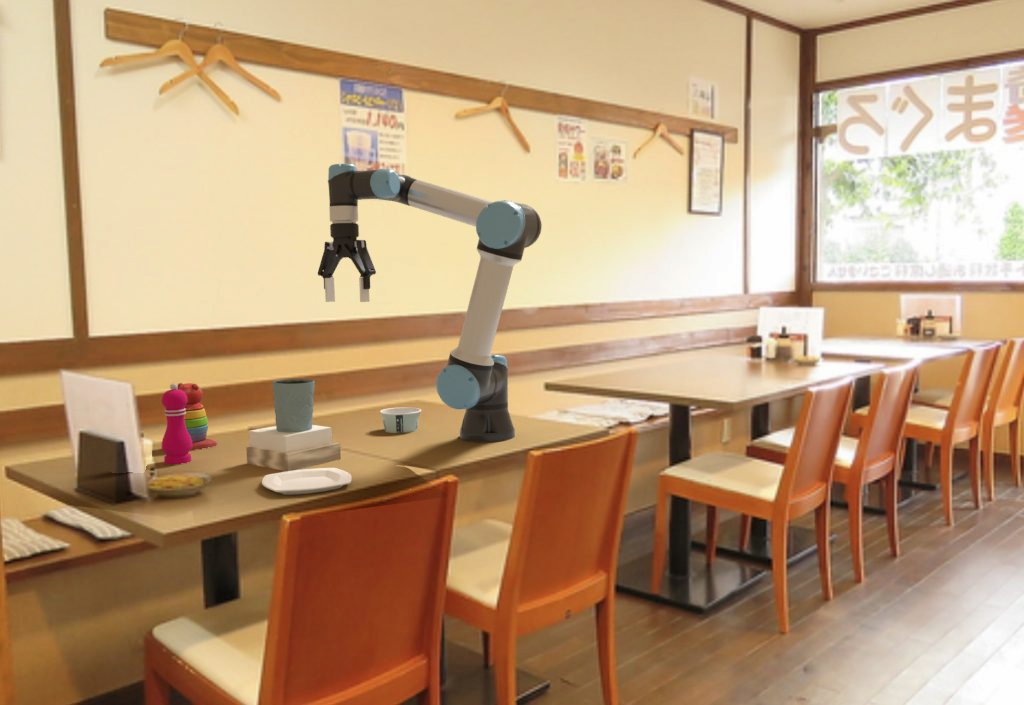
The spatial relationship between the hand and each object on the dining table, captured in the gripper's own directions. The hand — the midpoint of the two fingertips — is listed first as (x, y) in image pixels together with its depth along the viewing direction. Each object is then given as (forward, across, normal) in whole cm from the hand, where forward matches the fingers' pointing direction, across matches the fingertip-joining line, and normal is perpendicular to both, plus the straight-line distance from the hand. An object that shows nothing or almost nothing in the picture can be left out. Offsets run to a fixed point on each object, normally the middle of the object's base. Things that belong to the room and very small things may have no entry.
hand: (347, 301), depth 240 cm
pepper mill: (+39, +18, +42) cm, 60 cm away
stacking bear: (+39, +32, +28) cm, 58 cm away
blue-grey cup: (+30, -8, +26) cm, 41 cm away
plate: (+39, -29, +40) cm, 63 cm away
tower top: (+34, -6, +26) cm, 44 cm away
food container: (+39, -1, -18) cm, 43 cm away
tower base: (+39, -7, +26) cm, 48 cm away
